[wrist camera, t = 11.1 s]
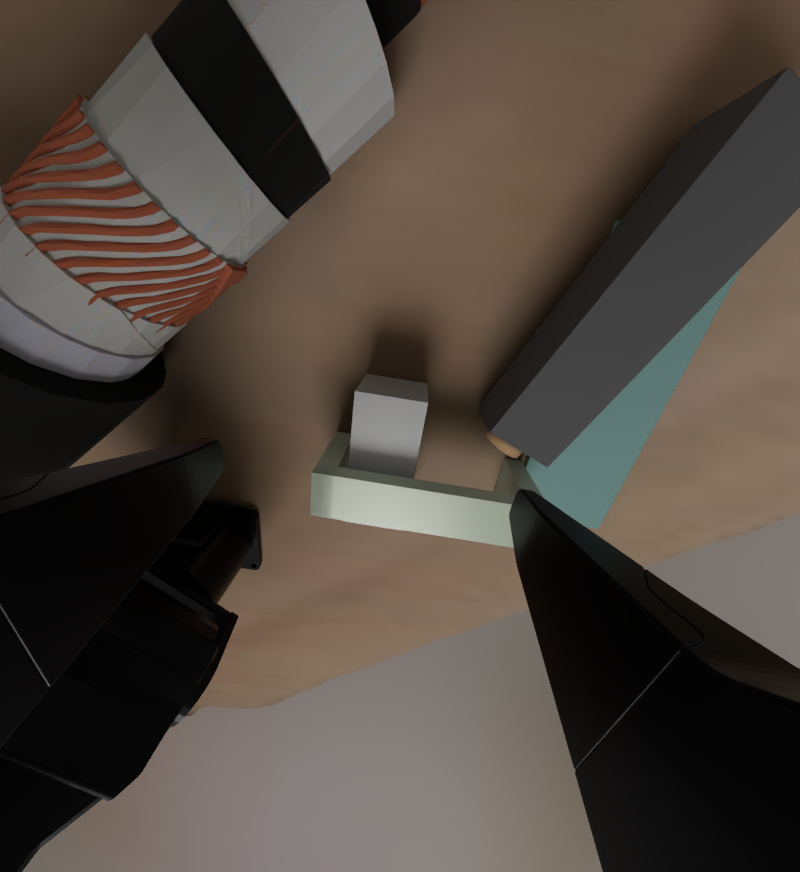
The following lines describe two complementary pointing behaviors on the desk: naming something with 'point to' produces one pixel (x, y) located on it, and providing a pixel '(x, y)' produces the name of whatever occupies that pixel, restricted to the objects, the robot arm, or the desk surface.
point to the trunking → (387, 426)
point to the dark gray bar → (654, 270)
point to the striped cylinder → (169, 200)
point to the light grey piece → (415, 499)
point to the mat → (620, 429)
